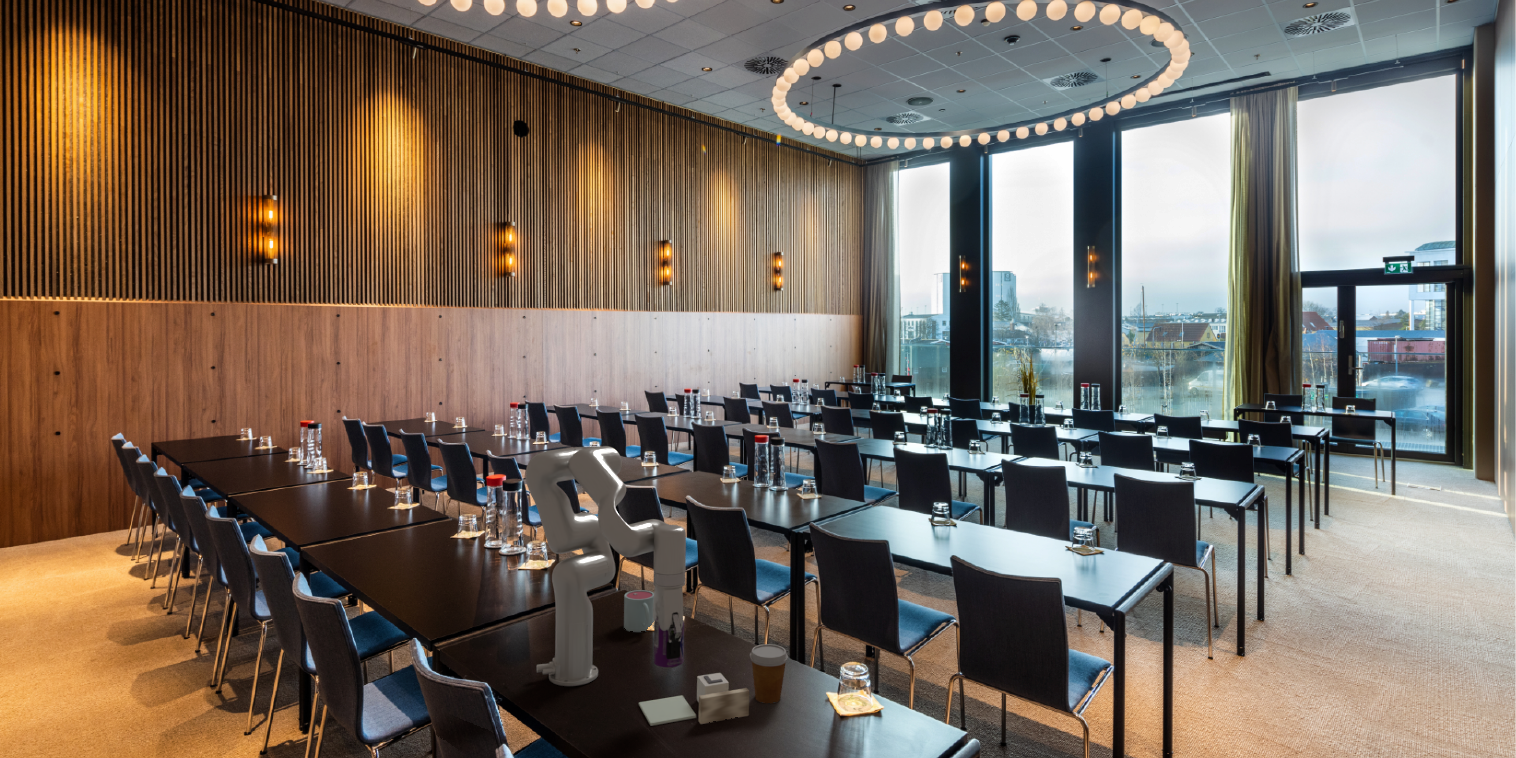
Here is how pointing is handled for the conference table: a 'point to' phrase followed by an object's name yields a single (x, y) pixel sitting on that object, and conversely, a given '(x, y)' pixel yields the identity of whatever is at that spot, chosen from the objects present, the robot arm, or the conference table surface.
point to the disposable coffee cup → (768, 671)
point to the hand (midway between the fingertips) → (668, 651)
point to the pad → (667, 710)
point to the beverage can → (660, 647)
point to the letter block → (711, 684)
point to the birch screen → (723, 705)
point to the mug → (638, 610)
